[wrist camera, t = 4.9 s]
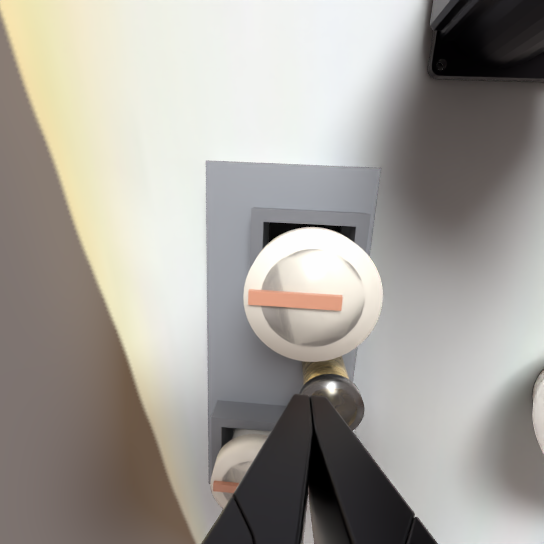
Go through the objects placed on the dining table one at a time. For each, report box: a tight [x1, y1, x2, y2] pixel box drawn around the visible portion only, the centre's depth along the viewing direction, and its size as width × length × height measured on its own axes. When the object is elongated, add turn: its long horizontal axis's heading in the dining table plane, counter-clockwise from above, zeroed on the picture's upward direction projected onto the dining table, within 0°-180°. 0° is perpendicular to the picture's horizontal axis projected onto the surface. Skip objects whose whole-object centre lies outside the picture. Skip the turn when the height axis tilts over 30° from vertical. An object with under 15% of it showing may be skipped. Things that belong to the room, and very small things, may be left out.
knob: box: [210, 428, 271, 509], centre depth 19 cm, size 5×5×6 cm
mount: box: [206, 161, 381, 494], centre depth 18 cm, size 9×21×4 cm, turn 177°
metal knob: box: [299, 356, 364, 431], centre depth 16 cm, size 3×3×4 cm
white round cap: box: [243, 227, 383, 362], centre depth 13 cm, size 5×5×6 cm
